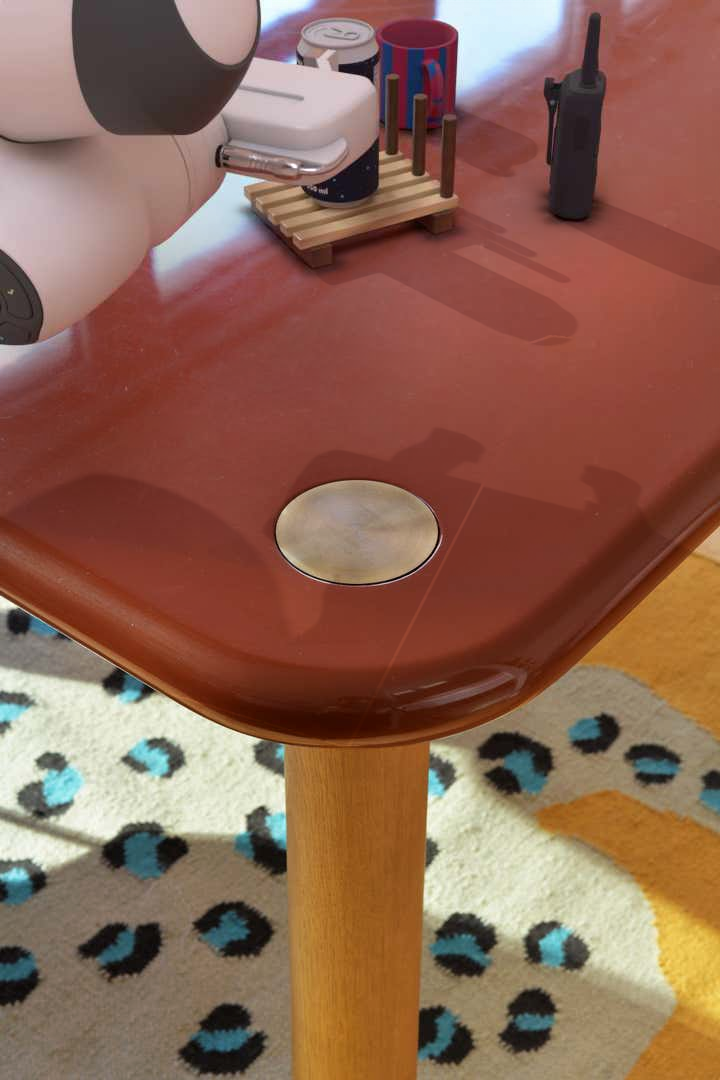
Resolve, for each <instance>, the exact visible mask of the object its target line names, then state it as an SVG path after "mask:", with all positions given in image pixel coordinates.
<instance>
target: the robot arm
mask: <svg viewBox="0 0 720 1080" xmlns="http://www.w3.org/2000/svg"><path fill="white" fill-rule="evenodd" d="M261 30H262V10H261V0H0V345H1V346H13V347H14V346H30V345H35V344H39V343H42V342H45V341H47V340H49V339H51V338H53V337H55V336H57V335H59V334H61V333H62V332H64V331H66V330H67V329H69V328H71V327H72V326H73V325H74V324H76V323H78V322H79V321H80V320H82V319H83V318H85V317H86V316H88V315H90V314H91V312H93V311H94V310H95V309H96V308H98V307H99V306H101V304H103V303H104V302H105V301H106V300H107V299H108V298H109V297H111V296H112V295H113V294H114V293H115V292H116V291H117V290H118V289H120V288H121V286H122V285H124V283H125V282H127V281H128V280H129V279H130V278H131V277H132V276H133V275H134V273H136V271H137V270H138V269H139V267H140V266H141V264H142V262H143V260H144V259H145V258H146V254H147V253H148V251H149V250H152V249H154V248H156V247H158V246H160V245H162V244H164V243H165V242H166V241H168V240H169V239H170V238H172V236H174V235H175V234H176V233H177V232H178V230H179V229H181V228H182V227H183V226H184V225H185V224H186V223H187V222H188V221H189V220H190V219H191V218H193V216H194V215H195V214H196V213H197V212H198V211H199V210H200V209H201V208H202V207H203V206H204V205H205V204H206V203H208V202H209V200H211V198H212V197H213V196H214V195H216V193H217V192H218V191H219V189H220V188H221V187H222V185H223V183H224V180H225V178H226V176H227V174H228V173H229V174H234V175H239V176H242V177H247V178H248V177H249V178H254V179H259V180H263V181H272V182H277V183H282V184H288V185H298V186H307V185H314V184H318V183H321V182H324V181H326V180H328V179H330V178H331V177H333V176H335V175H336V174H338V173H339V172H341V171H342V170H344V169H345V168H346V167H348V166H349V165H350V164H352V163H353V162H354V161H355V160H357V159H358V158H359V157H360V156H361V155H362V154H364V153H365V152H366V151H367V150H368V149H369V148H370V147H371V146H372V144H373V143H374V141H375V138H376V133H377V122H378V99H377V91H376V89H375V87H374V86H373V84H372V83H371V81H370V80H369V79H368V78H366V77H363V76H359V75H353V74H347V73H341V72H338V52H337V51H336V50H329V49H324V48H317V47H313V48H311V51H308V52H307V53H306V54H305V55H304V56H303V58H304V66H301V65H297V63H296V64H295V63H290V62H284V61H278V60H272V59H267V58H261V57H256V56H255V55H256V52H257V49H258V46H259V44H260V43H259V42H260V37H261V32H262V31H261Z"/></svg>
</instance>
